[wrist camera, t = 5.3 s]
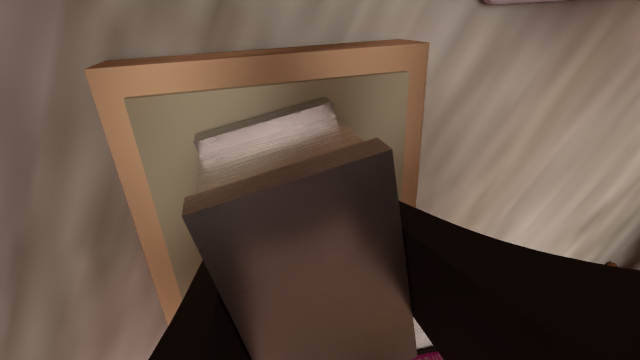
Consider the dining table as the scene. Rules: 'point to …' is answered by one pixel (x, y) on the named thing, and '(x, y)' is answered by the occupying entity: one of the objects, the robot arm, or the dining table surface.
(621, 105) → the dining table surface
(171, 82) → the oak stand
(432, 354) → the candy bar box
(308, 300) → the housing
